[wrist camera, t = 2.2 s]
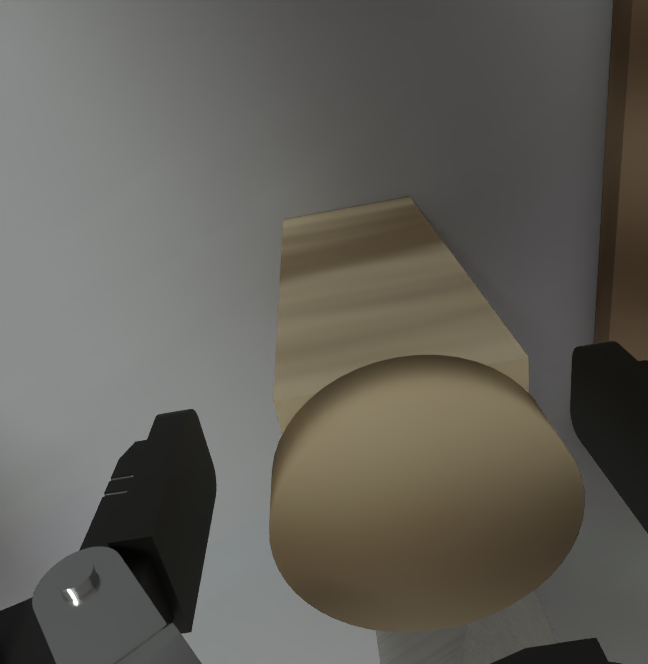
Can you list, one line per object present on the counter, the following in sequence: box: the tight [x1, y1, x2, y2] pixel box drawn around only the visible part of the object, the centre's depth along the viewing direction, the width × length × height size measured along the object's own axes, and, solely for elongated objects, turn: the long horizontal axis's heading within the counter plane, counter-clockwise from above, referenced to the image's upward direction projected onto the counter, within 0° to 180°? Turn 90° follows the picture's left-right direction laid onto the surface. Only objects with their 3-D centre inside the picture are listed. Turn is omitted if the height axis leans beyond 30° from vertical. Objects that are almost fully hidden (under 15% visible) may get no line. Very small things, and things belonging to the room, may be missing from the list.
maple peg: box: [269, 197, 585, 632], centre depth 14 cm, size 5×5×11 cm
